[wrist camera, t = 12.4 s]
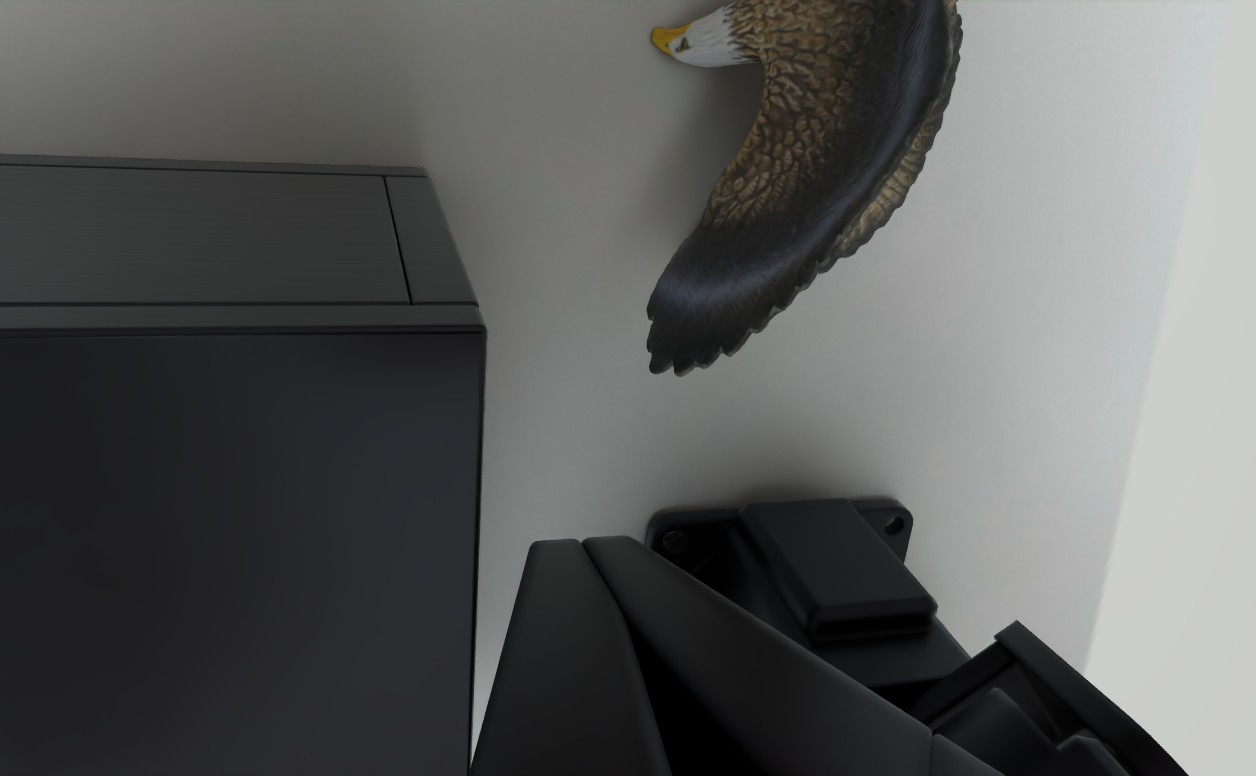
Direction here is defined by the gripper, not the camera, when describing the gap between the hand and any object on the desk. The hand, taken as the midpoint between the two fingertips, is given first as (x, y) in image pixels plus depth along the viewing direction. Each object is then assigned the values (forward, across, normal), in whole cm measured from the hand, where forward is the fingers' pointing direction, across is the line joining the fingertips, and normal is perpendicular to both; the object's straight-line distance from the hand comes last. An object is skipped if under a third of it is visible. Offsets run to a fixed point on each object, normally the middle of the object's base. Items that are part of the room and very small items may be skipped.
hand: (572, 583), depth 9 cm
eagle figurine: (+12, -6, -3) cm, 14 cm away
